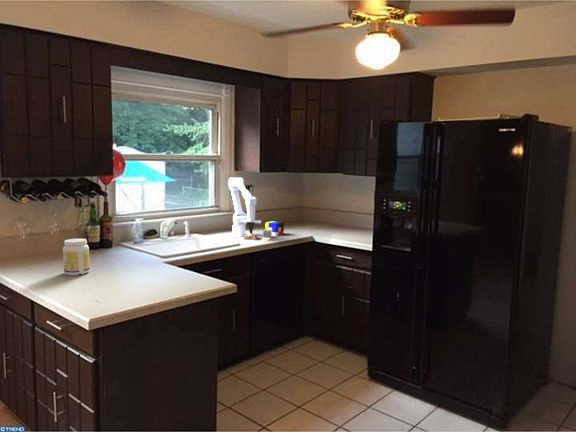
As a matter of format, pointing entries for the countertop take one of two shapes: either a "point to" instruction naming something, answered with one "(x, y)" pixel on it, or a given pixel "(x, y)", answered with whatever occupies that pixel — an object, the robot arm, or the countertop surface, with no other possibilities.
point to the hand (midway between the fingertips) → (251, 232)
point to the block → (267, 234)
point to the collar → (251, 237)
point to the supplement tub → (76, 257)
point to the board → (264, 238)
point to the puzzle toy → (275, 227)
